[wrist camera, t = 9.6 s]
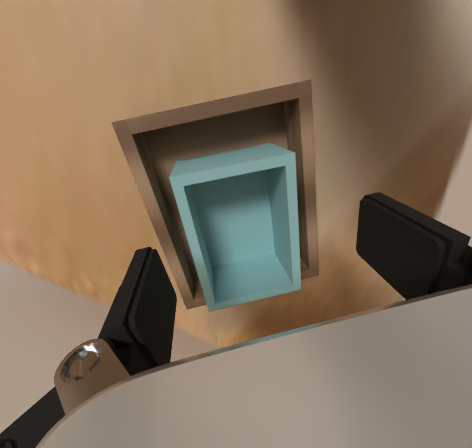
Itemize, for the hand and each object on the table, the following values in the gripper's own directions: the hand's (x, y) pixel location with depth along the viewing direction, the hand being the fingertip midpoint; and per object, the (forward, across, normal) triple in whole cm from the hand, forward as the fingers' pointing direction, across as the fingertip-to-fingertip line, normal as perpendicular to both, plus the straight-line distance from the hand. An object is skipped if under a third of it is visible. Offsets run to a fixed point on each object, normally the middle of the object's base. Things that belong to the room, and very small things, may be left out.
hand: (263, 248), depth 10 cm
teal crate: (+9, 0, +2) cm, 9 cm away
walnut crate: (+10, 0, +1) cm, 10 cm away
